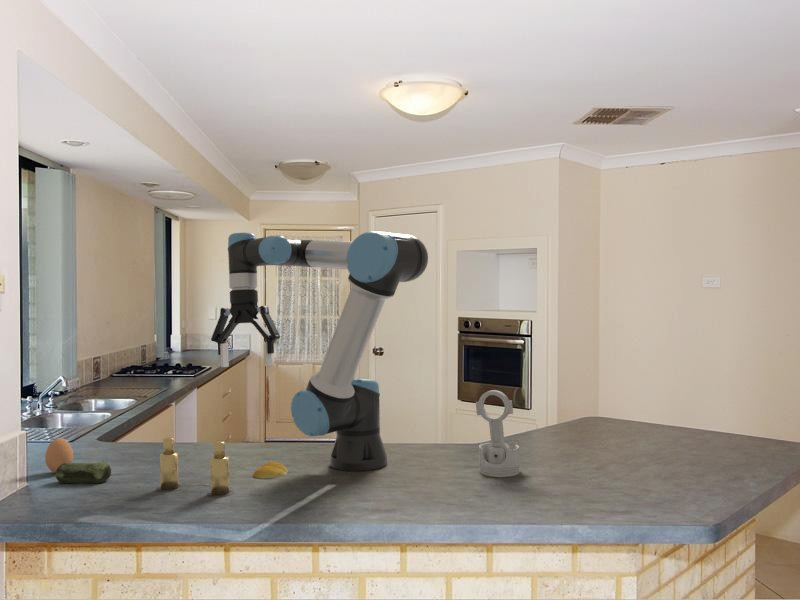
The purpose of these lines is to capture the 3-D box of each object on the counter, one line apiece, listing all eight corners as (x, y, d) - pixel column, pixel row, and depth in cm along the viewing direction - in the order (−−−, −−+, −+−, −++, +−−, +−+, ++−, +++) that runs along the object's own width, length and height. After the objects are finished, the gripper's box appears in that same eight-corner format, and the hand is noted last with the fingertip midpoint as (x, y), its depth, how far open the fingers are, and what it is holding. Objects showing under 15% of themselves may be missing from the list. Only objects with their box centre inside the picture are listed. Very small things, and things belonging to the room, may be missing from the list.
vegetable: (115, 479, 174) (114, 459, 174) (105, 484, 169) (105, 464, 169) (61, 479, 174) (60, 460, 174) (49, 485, 169) (49, 465, 169)
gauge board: (254, 493, 158) (254, 487, 158) (223, 509, 147) (223, 502, 146) (169, 485, 166) (169, 480, 166) (133, 499, 155) (133, 493, 155)
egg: (62, 476, 177) (61, 441, 177) (39, 475, 178) (38, 440, 178) (79, 469, 184) (78, 435, 184) (57, 469, 185) (56, 435, 185)
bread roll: (248, 484, 167) (248, 468, 167) (262, 475, 175) (261, 459, 175) (281, 485, 165) (280, 468, 165) (293, 475, 174) (292, 460, 174)
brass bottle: (182, 486, 160) (181, 437, 160) (170, 491, 156) (169, 440, 156) (168, 485, 161) (167, 436, 161) (156, 489, 158) (155, 439, 158)
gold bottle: (233, 491, 155) (232, 440, 155) (222, 496, 151) (221, 444, 151) (218, 490, 156) (217, 439, 156) (207, 495, 153) (206, 443, 153)
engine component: (513, 478, 166) (523, 468, 176) (511, 394, 166) (522, 388, 175) (470, 474, 171) (483, 465, 180) (469, 392, 171) (481, 387, 180)
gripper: (290, 287, 189) (293, 364, 188) (212, 292, 197) (215, 366, 196) (277, 286, 182) (280, 366, 181) (196, 291, 190) (199, 368, 189)
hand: (246, 366), depth 189 cm, fingers open, 13 cm apart
